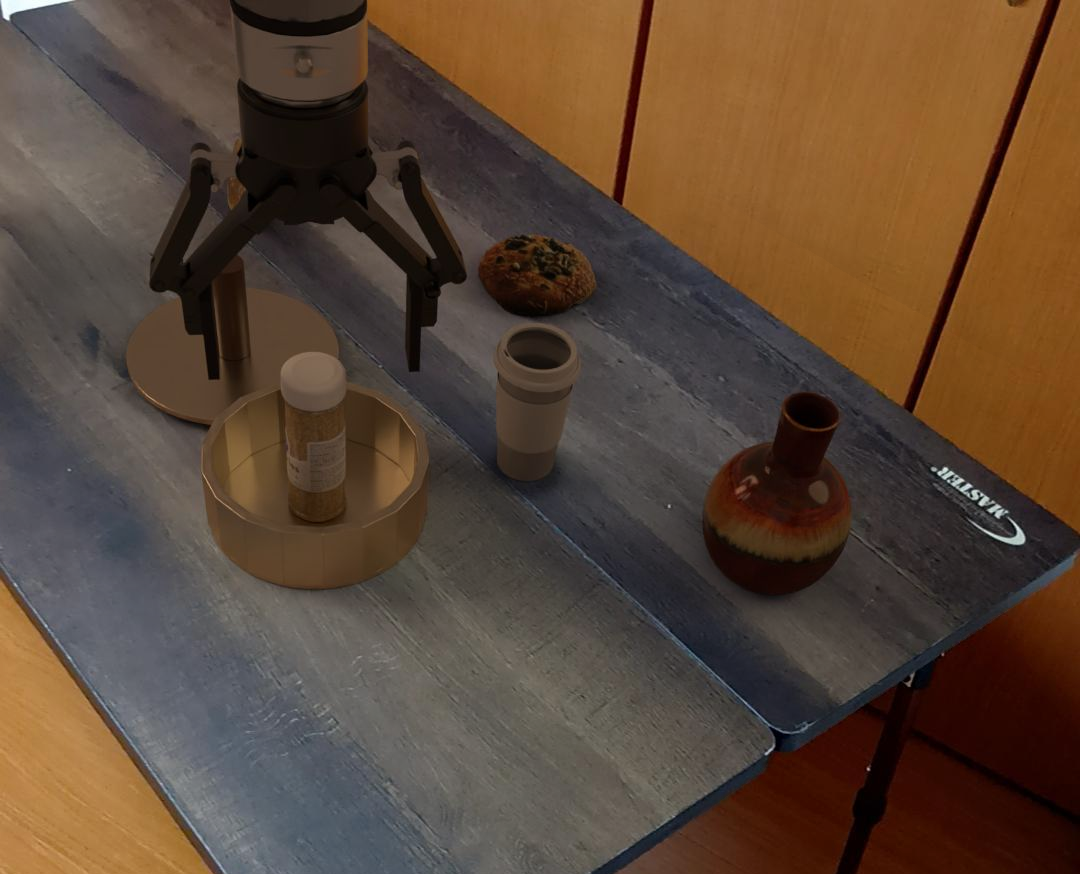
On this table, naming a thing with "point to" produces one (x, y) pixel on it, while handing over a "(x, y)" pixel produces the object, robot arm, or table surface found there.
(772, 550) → the vase
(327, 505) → the sprinkles bottle
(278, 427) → the pot
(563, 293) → the bread roll
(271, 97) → the robot arm
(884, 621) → the table surface
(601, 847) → the table surface
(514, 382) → the cup
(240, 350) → the pot lid
